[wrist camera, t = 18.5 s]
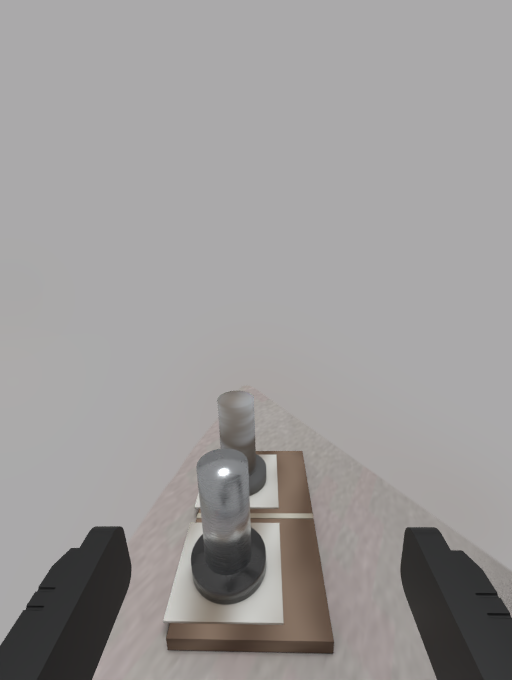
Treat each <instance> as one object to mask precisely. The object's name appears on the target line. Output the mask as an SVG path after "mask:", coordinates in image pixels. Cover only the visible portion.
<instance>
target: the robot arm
mask: <svg viewBox="0 0 512 680" xmlns="http://www.w3.org/2000/svg"><path fill="white" fill-rule="evenodd" d="M130 578H131V561H130V557H129V552H128V547H127V543H126V538H125V534H124V530H123V528H122V527H94V528H92V529H91V530H90V532H89V533H88V535H87V537H86V538H85V540H84V542H83V543H82V545H81V546H80V548H71V549H70V550H69V551H68V552H67V553H66V554H65V555H63V556H62V557H61V558H60V559H59V560H58V561H57V562H56V563H55V564H54V565H53V566H52V567H51V569H50V570H49V572H48V574H47V575H46V577H45V578H44V580H43V581H42V583H41V584H40V586H39V589H38V591H37V592H35V593H34V595H33V596H32V598H31V600H30V601H29V603H28V604H27V608H26V610H23V612H22V613H21V615H20V616H19V618H18V620H17V621H16V623H15V624H14V626H13V627H12V629H11V630H10V632H9V633H8V635H7V636H6V638H5V640H4V641H3V642H2V644H1V645H0V680H92V678H93V676H94V673H95V671H96V668H97V666H98V663H99V661H100V658H101V656H102V653H103V650H104V648H105V645H106V643H107V640H108V638H109V635H110V633H111V630H112V628H113V625H114V623H115V620H116V618H117V615H118V613H119V610H120V608H121V605H122V603H123V600H124V598H125V595H126V593H127V590H128V587H129V583H130ZM401 579H402V585H403V589H404V592H405V595H406V598H407V601H408V603H409V606H410V609H411V611H412V614H413V617H414V619H415V622H416V624H417V627H418V630H419V632H420V635H421V638H422V640H423V643H424V646H425V648H426V651H427V654H428V656H429V659H430V662H431V664H432V667H433V670H434V672H435V675H436V678H437V680H512V618H511V616H510V613H509V611H508V609H507V608H506V606H505V605H504V603H503V601H502V600H501V598H499V597H498V595H497V592H496V590H495V589H494V587H493V586H492V584H491V582H490V581H489V579H488V578H487V576H486V575H485V573H484V571H483V570H482V569H481V568H480V567H479V566H478V565H477V564H476V563H475V562H474V561H473V560H472V559H471V558H469V557H468V556H467V555H466V554H465V553H464V552H463V551H451V550H450V548H449V546H448V545H447V543H446V541H445V539H444V538H443V536H442V534H441V533H440V531H439V530H438V529H437V528H434V527H408V528H406V530H405V535H404V543H403V551H402V559H401Z"/></svg>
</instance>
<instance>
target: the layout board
mask: <svg viewBox="0 0 512 680" xmlns="http://www.w3.org/2000/svg"><path fill="white" fill-rule="evenodd" d="M217 401H218V414H219V429H220V444H221V449H224V448H228V449H235V450H238V451H240V452H242V453H243V454H244V455H245V456H246V457H247V459H248V473H249V497H250V520H251V527H252V528H253V529H254V530H256V531H257V532H258V533H259V535H260V536H261V537H262V539H263V541H264V544H265V548H266V572H265V576H264V579H263V581H262V583H261V585H260V587H259V588H258V589H257V590H256V592H255V593H254V594H252V595H251V596H250V597H249V598H247V599H245V600H243V601H241V602H238V603H235V604H230V605H222V604H216V603H213V602H211V601H209V600H207V599H205V598H204V597H203V596H202V595H201V594H200V593H199V592H198V590H197V589H196V587H195V585H194V581H193V576H192V567H191V554H192V550H193V547H194V545H195V543H196V542H197V540H198V539H199V537H200V536H201V535H202V534H203V530H202V519H201V509H200V498H199V493H198V496H197V500H196V503H195V509H199V512H198V515H197V520H196V523H191V522H190V525H189V529H188V533H187V536H186V540H185V544H184V547H183V551H182V554H181V558H180V562H179V565H178V569H177V573H176V576H175V580H174V584H173V587H172V591H171V595H170V598H169V602H168V606H167V609H166V613H165V616H164V620H163V623H170V625H169V629H168V633H167V637H166V641H167V647H168V650H200V651H249V652H298V653H333V646H334V640H333V634H332V628H331V622H330V616H329V610H328V604H327V598H326V592H325V586H324V580H323V574H322V568H321V562H320V556H319V550H318V543H317V537H316V531H315V525H314V519H313V513H312V507H311V501H310V495H309V489H308V483H307V477H306V471H305V465H304V459H303V453H302V451H255V421H254V397H253V395H252V394H250V393H248V392H245V391H230V392H226V393H224V394H222V395H220V396H219V397H218V400H217Z"/></svg>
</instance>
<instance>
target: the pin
mask: <svg viewBox="0 0 512 680" xmlns="http://www.w3.org/2000/svg"><path fill="white" fill-rule="evenodd" d="M197 478H198V488H199V498H200V509H201V519H202V530H203V534H202V535H201V536H200V537H199V539H198V540H197V542H196V543H195V545H194V547H193V550H192V554H191V567H192V576H193V581H194V585H195V587H196V589H197V590H198V592H199V593H200V594H201V595H202V596H203V597H204V598H205V599H207V600H209V601H211V602H213V603H216V604H222V605H230V604H235V603H238V602H241V601H243V600H245V599H247V598H249V597H250V596H251V595H252V594H254V593H255V592H256V590H257V589H258V588H259V587H260V585H261V583H262V581H263V579H264V576H265V572H266V548H265V544H264V541H263V539H262V537H261V536H260V535H259V533H258V532H257V531H256V530H254V529H253V528H252V527H251V520H250V497H249V473H248V459H247V457H246V456H245V455H244V454H243V453H242V452H240V451H238V450H235V449H228V448H224V449H217V450H213V451H210V452H208V453H207V454H205V455H204V456H202V457H201V458H200V460H199V461H198V463H197Z"/></svg>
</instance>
